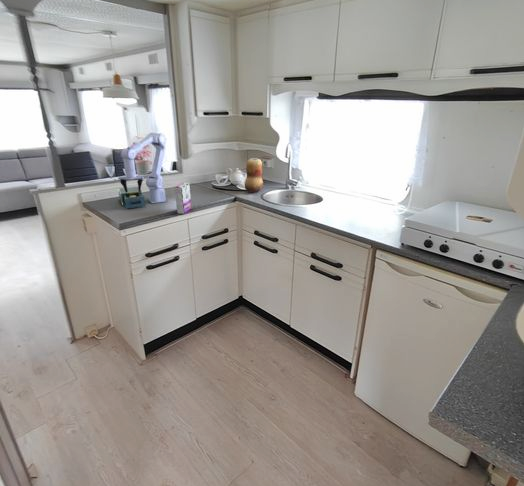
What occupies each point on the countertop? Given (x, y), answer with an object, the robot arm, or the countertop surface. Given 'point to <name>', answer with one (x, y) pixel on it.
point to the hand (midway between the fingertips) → (133, 191)
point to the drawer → (133, 200)
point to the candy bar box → (183, 198)
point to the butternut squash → (254, 175)
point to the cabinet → (130, 191)
